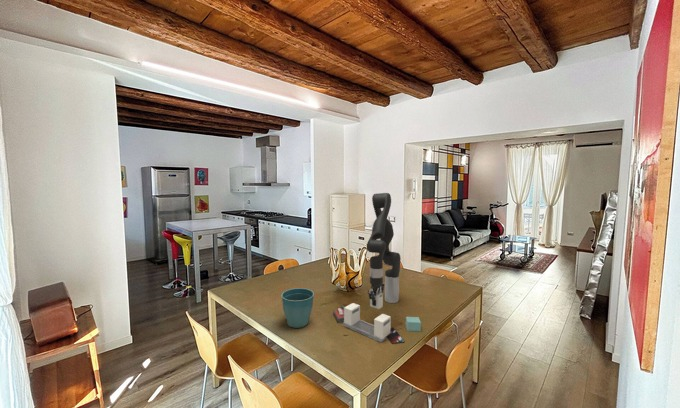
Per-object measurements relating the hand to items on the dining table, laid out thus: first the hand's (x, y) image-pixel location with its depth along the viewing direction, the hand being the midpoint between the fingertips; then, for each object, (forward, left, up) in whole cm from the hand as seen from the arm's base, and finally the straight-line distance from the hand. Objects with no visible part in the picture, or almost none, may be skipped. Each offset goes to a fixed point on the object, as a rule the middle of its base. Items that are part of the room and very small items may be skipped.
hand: (376, 303), depth 163 cm
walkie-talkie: (+6, -21, -11) cm, 24 cm away
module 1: (+10, -9, -10) cm, 17 cm away
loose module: (0, 0, -1) cm, 1 cm away
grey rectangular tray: (+10, +1, -11) cm, 15 cm away
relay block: (-6, +16, -9) cm, 19 cm away
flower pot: (+29, -33, -11) cm, 46 cm away
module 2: (+10, +11, -10) cm, 18 cm away
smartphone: (+6, +14, -11) cm, 19 cm away
